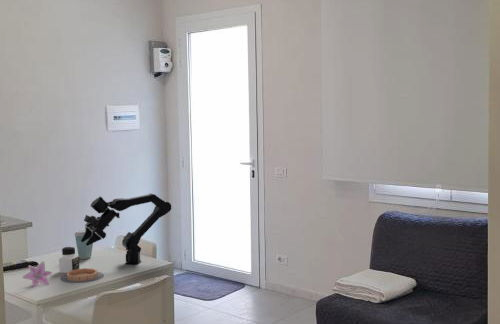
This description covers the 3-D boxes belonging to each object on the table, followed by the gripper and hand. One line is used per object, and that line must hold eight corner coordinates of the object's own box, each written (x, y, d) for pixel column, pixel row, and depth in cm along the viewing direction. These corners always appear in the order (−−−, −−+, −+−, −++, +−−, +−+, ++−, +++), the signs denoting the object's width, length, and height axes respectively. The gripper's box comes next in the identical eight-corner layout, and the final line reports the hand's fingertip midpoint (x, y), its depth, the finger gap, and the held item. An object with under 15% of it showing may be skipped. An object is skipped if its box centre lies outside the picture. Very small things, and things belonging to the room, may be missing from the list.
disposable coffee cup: (70, 258, 318) (70, 230, 317) (86, 254, 328) (85, 227, 326) (84, 260, 313) (83, 232, 312) (99, 256, 322) (99, 229, 321)
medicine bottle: (72, 273, 288) (71, 248, 287) (59, 273, 289) (58, 248, 288) (79, 269, 295) (78, 245, 294) (66, 269, 296) (65, 245, 295)
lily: (18, 290, 266) (22, 273, 262) (26, 273, 276) (30, 257, 272) (45, 296, 268) (49, 280, 264) (52, 279, 279) (56, 264, 274)
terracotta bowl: (102, 273, 287) (102, 269, 287) (89, 281, 273) (89, 277, 273) (75, 272, 289) (75, 267, 289) (61, 280, 275) (61, 275, 275)
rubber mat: (110, 272, 289) (110, 272, 289) (93, 284, 270) (93, 283, 270) (72, 271, 293) (72, 270, 293) (52, 282, 273) (52, 281, 273)
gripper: (88, 206, 304) (67, 230, 299) (99, 211, 288) (76, 236, 283) (104, 220, 308) (83, 243, 304) (115, 226, 292) (93, 250, 288)
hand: (83, 243), depth 294 cm, fingers open, 9 cm apart
